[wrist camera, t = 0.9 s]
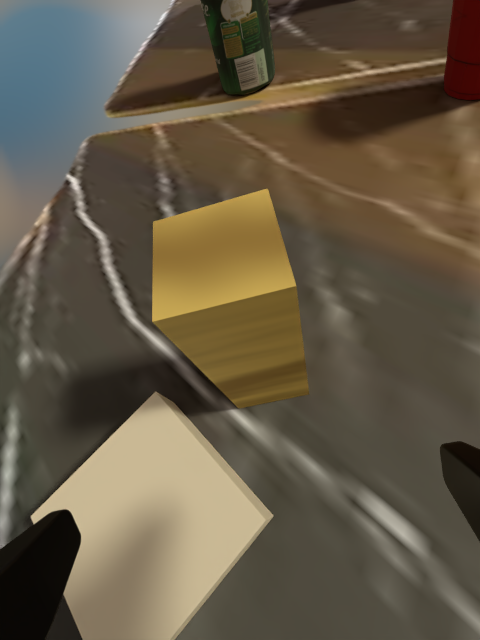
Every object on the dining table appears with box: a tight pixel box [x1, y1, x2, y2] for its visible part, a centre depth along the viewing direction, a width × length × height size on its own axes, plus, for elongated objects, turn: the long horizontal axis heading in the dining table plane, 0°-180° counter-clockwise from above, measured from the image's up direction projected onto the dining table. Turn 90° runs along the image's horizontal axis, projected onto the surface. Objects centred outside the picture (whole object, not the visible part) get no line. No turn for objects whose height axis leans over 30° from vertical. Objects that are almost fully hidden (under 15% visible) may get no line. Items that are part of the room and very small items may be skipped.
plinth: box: [31, 392, 273, 640], centre depth 18 cm, size 10×10×3 cm
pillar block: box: [152, 189, 309, 408], centre depth 17 cm, size 5×5×13 cm
